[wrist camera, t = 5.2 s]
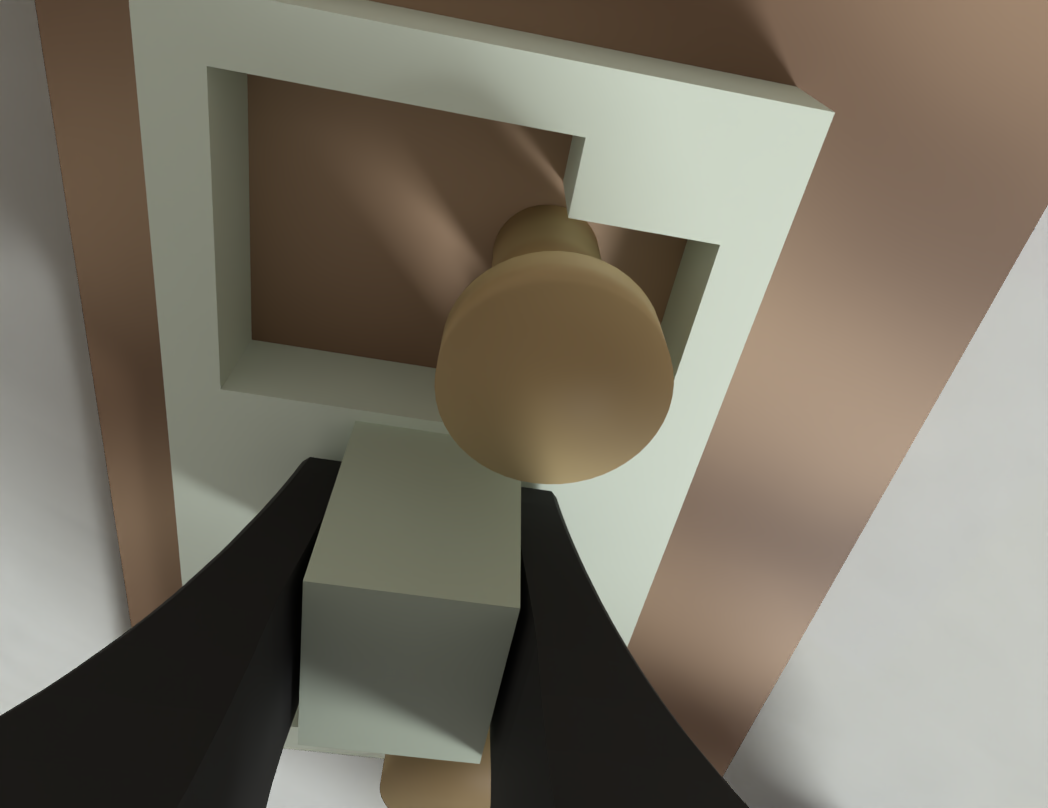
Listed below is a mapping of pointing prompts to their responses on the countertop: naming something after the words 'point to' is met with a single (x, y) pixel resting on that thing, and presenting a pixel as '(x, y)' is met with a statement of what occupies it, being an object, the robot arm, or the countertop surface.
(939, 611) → the countertop surface
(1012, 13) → the board
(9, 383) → the countertop surface
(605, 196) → the panel
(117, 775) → the robot arm
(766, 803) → the countertop surface
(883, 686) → the countertop surface
